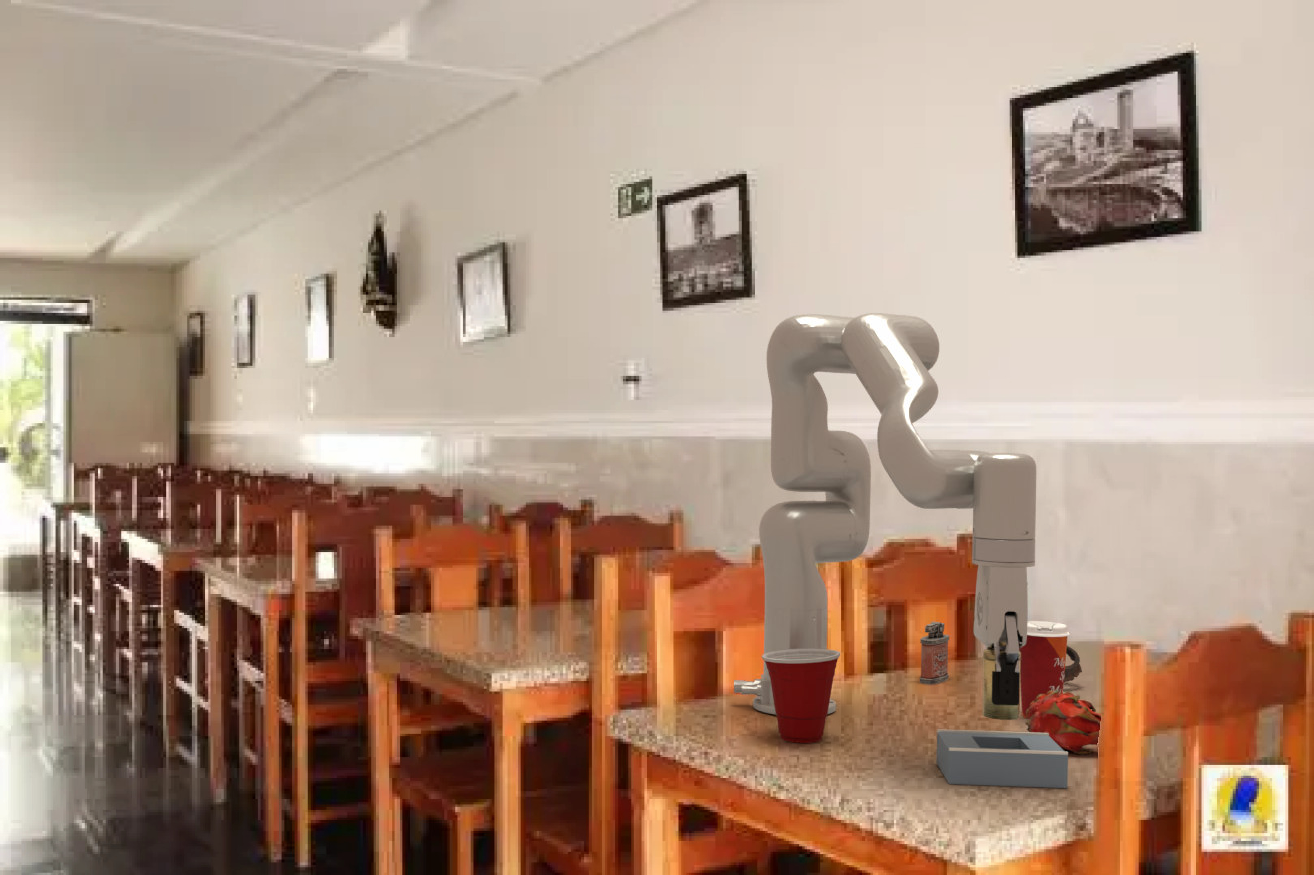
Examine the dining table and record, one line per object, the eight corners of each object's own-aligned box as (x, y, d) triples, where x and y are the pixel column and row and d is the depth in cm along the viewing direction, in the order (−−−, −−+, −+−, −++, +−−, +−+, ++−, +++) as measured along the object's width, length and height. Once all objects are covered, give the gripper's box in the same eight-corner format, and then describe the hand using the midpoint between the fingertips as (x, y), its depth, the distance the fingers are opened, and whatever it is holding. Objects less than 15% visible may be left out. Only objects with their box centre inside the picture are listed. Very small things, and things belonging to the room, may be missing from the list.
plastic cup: (775, 726, 183) (777, 642, 183) (848, 734, 179) (850, 648, 179) (748, 741, 174) (750, 653, 174) (825, 751, 169) (826, 660, 169)
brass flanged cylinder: (985, 719, 157) (987, 653, 157) (979, 711, 161) (980, 647, 161) (1023, 720, 156) (1024, 654, 156) (1015, 712, 161) (1016, 648, 161)
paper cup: (1071, 724, 188) (1072, 628, 188) (1016, 721, 190) (1018, 626, 190) (1065, 713, 196) (1066, 621, 196) (1013, 710, 197) (1014, 619, 197)
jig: (948, 783, 154) (949, 748, 154) (936, 762, 164) (937, 729, 164) (1067, 788, 153) (1068, 752, 153) (1047, 766, 163) (1048, 733, 163)
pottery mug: (1079, 684, 222) (1089, 647, 218) (1067, 717, 215) (1078, 679, 211) (1010, 661, 227) (1019, 624, 222) (997, 692, 219) (1006, 655, 215)
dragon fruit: (1020, 751, 178) (1106, 779, 170) (1006, 724, 172) (1094, 752, 164) (1042, 698, 181) (1127, 723, 173) (1029, 670, 175) (1116, 695, 168)
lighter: (934, 675, 225) (935, 618, 225) (952, 678, 223) (953, 620, 223) (915, 682, 218) (916, 624, 218) (933, 685, 216) (934, 626, 216)
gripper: (961, 546, 167) (959, 686, 167) (985, 558, 150) (982, 714, 150) (1019, 547, 167) (1017, 688, 167) (1050, 559, 150) (1048, 716, 150)
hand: (1001, 698), depth 159 cm, fingers closed on brass flanged cylinder, 4 cm apart
